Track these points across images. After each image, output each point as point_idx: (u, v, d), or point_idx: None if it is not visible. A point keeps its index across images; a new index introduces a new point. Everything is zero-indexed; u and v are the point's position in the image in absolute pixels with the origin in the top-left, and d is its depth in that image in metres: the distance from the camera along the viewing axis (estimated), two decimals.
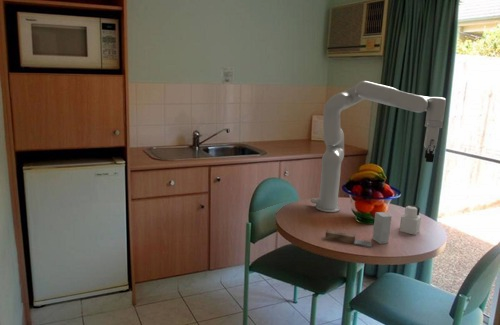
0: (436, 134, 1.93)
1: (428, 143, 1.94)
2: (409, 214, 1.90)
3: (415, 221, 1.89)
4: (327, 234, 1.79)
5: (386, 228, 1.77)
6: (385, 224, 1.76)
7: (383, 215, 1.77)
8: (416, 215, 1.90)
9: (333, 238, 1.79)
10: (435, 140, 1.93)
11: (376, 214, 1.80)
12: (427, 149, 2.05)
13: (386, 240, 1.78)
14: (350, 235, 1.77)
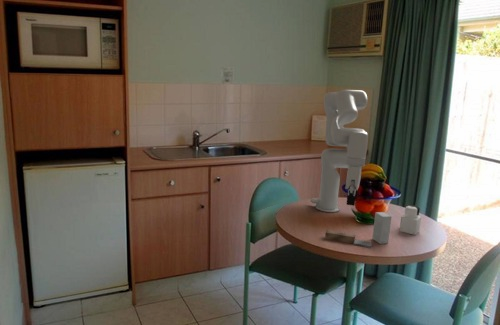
0: (357, 174, 1.68)
1: (348, 184, 1.70)
2: (409, 214, 1.90)
3: (415, 221, 1.89)
4: (327, 234, 1.79)
5: (386, 228, 1.77)
6: (385, 224, 1.76)
7: (383, 215, 1.77)
8: (416, 215, 1.90)
9: (333, 238, 1.79)
10: (356, 181, 1.69)
11: (376, 214, 1.80)
12: None
13: (386, 240, 1.78)
14: (350, 235, 1.77)
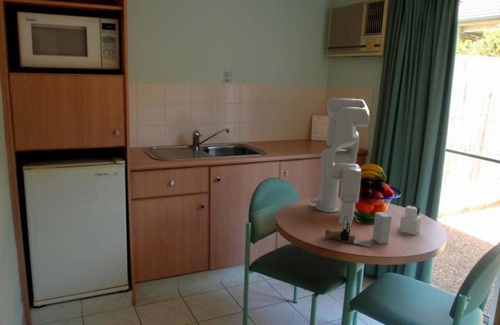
0: (350, 210, 1.71)
1: (341, 223, 1.73)
2: (409, 214, 1.90)
3: (415, 221, 1.89)
4: (327, 232, 1.79)
5: (386, 228, 1.77)
6: (385, 224, 1.76)
7: (383, 215, 1.77)
8: (416, 215, 1.90)
9: (333, 236, 1.79)
10: (349, 217, 1.71)
11: (376, 214, 1.80)
12: None
13: (386, 240, 1.78)
14: (350, 234, 1.77)
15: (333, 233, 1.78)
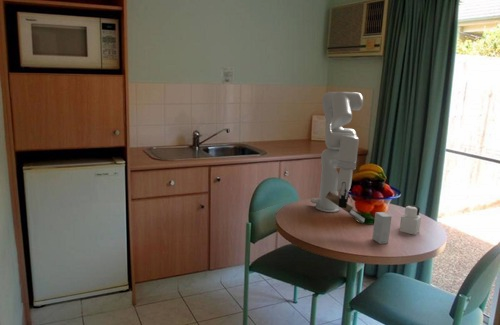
0: (348, 176, 1.76)
1: (339, 190, 1.78)
2: (409, 214, 1.90)
3: (415, 221, 1.89)
4: (329, 194, 1.83)
5: (386, 228, 1.77)
6: (385, 224, 1.76)
7: (383, 215, 1.77)
8: (416, 215, 1.90)
9: (333, 199, 1.83)
10: (347, 183, 1.76)
11: (376, 214, 1.80)
12: None
13: (386, 240, 1.78)
14: (349, 204, 1.82)
15: (334, 197, 1.82)
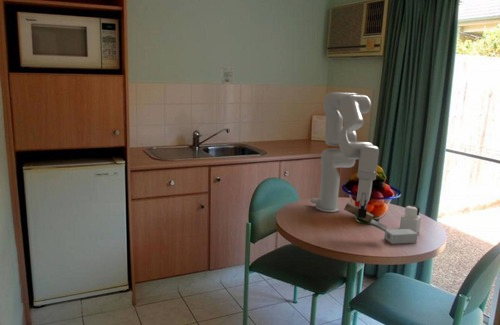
0: (368, 187, 1.74)
1: (359, 200, 1.76)
2: (409, 214, 1.90)
3: (415, 221, 1.89)
4: (347, 206, 1.81)
5: (406, 238, 1.79)
6: (409, 238, 1.79)
7: None
8: (416, 215, 1.90)
9: (352, 211, 1.81)
10: (367, 194, 1.74)
11: (409, 229, 1.84)
12: None
13: (394, 241, 1.78)
14: (369, 214, 1.80)
15: (353, 208, 1.81)
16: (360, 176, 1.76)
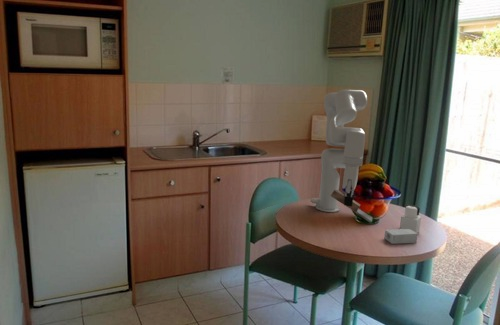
0: (354, 173, 1.67)
1: None
2: (409, 214, 1.90)
3: (415, 221, 1.89)
4: (334, 192, 1.74)
5: (406, 238, 1.79)
6: (409, 238, 1.79)
7: None
8: (416, 215, 1.90)
9: (338, 198, 1.74)
10: (353, 180, 1.67)
11: (409, 229, 1.84)
12: None
13: (394, 241, 1.78)
14: (356, 203, 1.73)
15: (340, 196, 1.73)
16: (346, 162, 1.69)
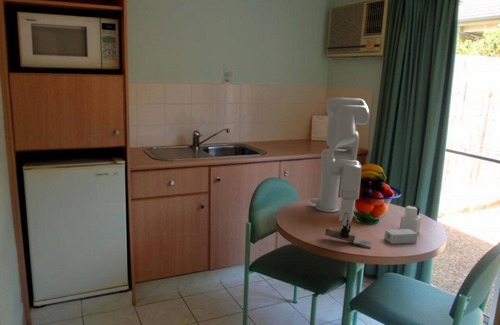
0: (350, 207, 1.70)
1: (341, 220, 1.72)
2: (409, 214, 1.90)
3: (415, 221, 1.89)
4: (327, 230, 1.78)
5: (406, 238, 1.79)
6: (409, 238, 1.79)
7: None
8: (416, 215, 1.90)
9: (333, 235, 1.77)
10: (349, 214, 1.70)
11: (409, 229, 1.84)
12: None
13: (394, 241, 1.78)
14: (350, 234, 1.76)
15: (333, 232, 1.77)
16: (342, 195, 1.71)
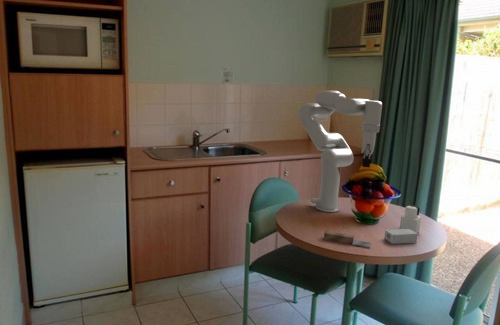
0: (372, 139, 1.88)
1: (364, 148, 1.90)
2: (409, 214, 1.90)
3: (415, 221, 1.89)
4: (325, 235, 1.79)
5: (406, 238, 1.79)
6: (409, 238, 1.79)
7: None
8: (416, 215, 1.90)
9: (332, 238, 1.78)
10: (371, 145, 1.88)
11: (409, 229, 1.84)
12: None
13: (394, 241, 1.78)
14: (349, 236, 1.77)
15: (332, 235, 1.78)
16: (365, 129, 1.90)
